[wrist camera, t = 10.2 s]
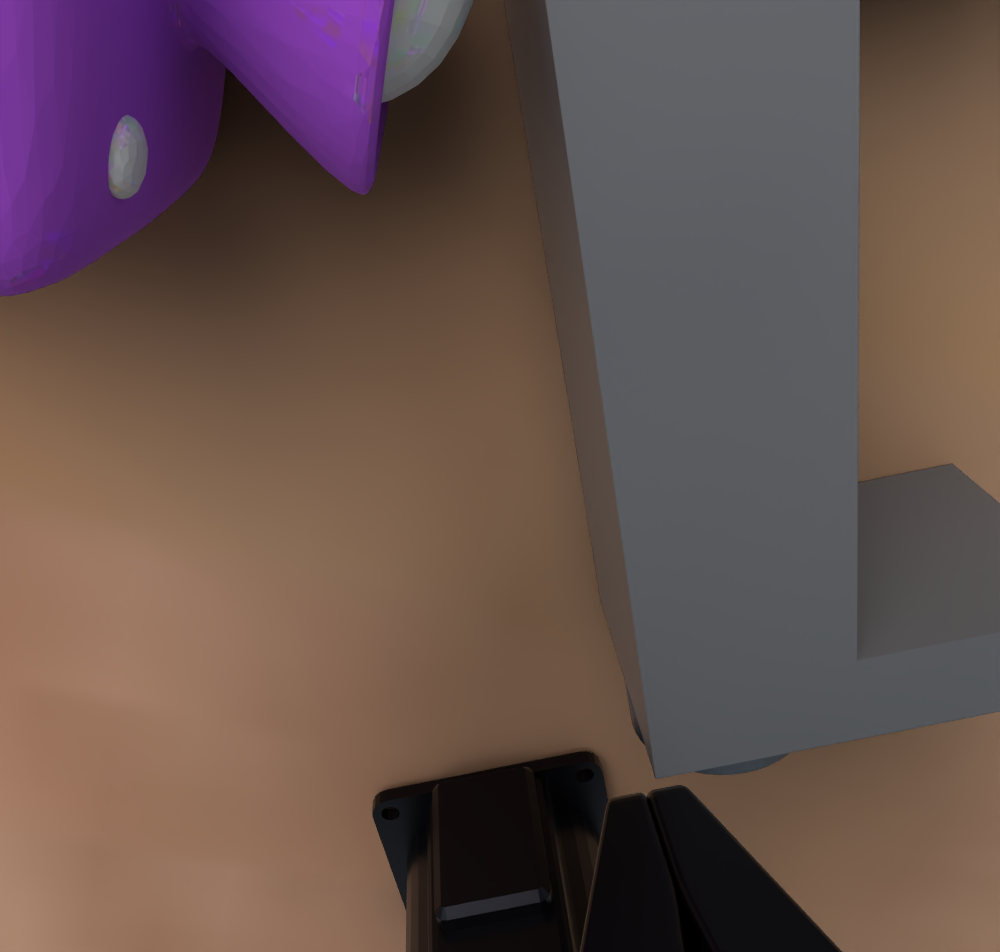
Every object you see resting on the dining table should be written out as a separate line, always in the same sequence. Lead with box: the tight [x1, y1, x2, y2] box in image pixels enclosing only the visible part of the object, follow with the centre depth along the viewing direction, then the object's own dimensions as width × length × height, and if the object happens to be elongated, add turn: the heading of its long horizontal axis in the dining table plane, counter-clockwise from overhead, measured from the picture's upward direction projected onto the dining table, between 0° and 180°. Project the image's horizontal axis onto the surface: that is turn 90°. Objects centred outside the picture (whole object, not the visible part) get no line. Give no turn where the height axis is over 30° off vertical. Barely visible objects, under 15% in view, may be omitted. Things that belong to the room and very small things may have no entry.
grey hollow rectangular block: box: [504, 0, 1000, 779], centre depth 17 cm, size 17×9×6 cm, turn 10°
